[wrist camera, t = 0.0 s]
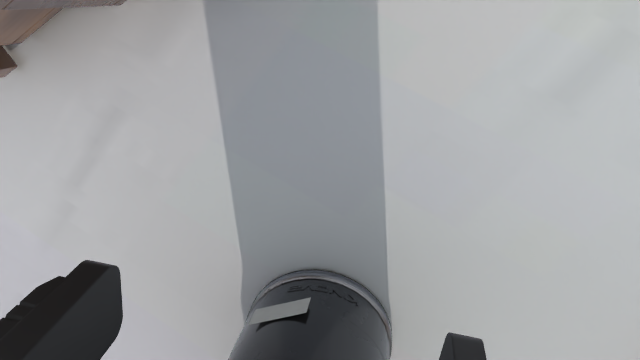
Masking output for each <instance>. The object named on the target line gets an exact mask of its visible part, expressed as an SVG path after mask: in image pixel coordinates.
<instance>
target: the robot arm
mask: <svg viewBox="0 0 640 360" xmlns="http://www.w3.org/2000/svg"><path fill="white" fill-rule="evenodd" d="M122 318H123V310H122V295H121V279H120V270H119V268H118V267H117V266H115V265H110V264H105V263H100V262H95V261H90V260H85V261H83V262H81V263H80V264H79V265H78V266H77V267H76V268H75V269H74V270H73V271H72V272H71V273H70V274H69V275H67V276H66V277H61V276H58V277H56V278H54V279H52V280H50V281H48V282H46V283H44V284H42V285H40V286H38V287H36V288H35V289H34V290H33V291H32V292H31V293H30V294H29V295H28V296H26V297H25V298H24V299H23V300H22V301H21V302H20V305H16V306H15V307H14V308H13V309H12V310H11V311H10V312H9V313H7V314H6V317H5V318H2V319H1V320H0V360H100V359H101V358H102V356H103V355H104V354H105V352H106V351H107V350H108V348H109V347H110V346H111V344H112V343H113V342H114V340H115V339H116V337H117V335H118V333H119V330H120V327H121V324H122ZM391 347H392V333H391V326H390V322H389V319H388V317H387V315H386V312H385V311H384V309H383V307H382V306H381V304H380V303H379V301H378V300H377V299H376V298H375V297H374V296H373V295H372V294H371V293H370V292H369V291H368V290H367V289H365V288H364V287H363V286H361V285H360V284H358V283H357V282H355V281H353V280H351V279H349V278H347V277H345V276H342V275H339V274H336V273H332V272H327V271H319V270H305V271H298V272H293V273H289V274H286V275H284V276H281V277H279V278H277V279H276V280H274V281H272V282H271V283H269V284H268V285H267V286H266V287H265V288H264V289H263V290H262V291H261V292H260V293H259V295H258V296H257V297H256V299H255V301H254V303H253V305H252V307H251V309H250V311H249V314H248V317H247V320H246V323H245V325H244V327H243V330H242V332H241V334H240V336H239V338H238V339H237V342H236V344H235V346H234V348H233V350H232V352H231V354H230V356H229V358H228V360H390V356H391ZM439 360H486V355H485V350H484V344H483V341H482V340H481V339H479V338H474V337H469V336H464V335H459V334H454V333H448V334H447V336H446V338H445V342H444V345H443V348H442V352H441V355H440V358H439Z"/></svg>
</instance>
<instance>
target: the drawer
mask: <svg viewBox="0 0 640 360" xmlns="http://www.w3.org/2000/svg"><path fill="white" fill-rule="evenodd" d="M61 9H62V8H38V9H13V10H0V78H1V77H5V76H6V75H7V74H9V73H10V72H11V71H12V70H14V69H15V68H16V67H17V65H16V63H15V62H14V61H13V60H12V58H11V57H10V56H9V54H8V53H7V52H6V50H5V49H4V48H3V46H2V45H10V44H17V43H22V42H23V41H24V40H25V39H26V38H28V37H29V36H30V35H31V34H32V33H34V32H35V31H36V30H37V29H38V28H40V27H41V26H42V25H43V24H44V23H46V22H47V21H48V20H49V19H50V18H52V17H53V16H54V15H55V14H56V13H58V12H59V11H60V10H61Z"/></svg>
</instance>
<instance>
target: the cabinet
mask: <svg viewBox="0 0 640 360" xmlns="http://www.w3.org/2000/svg"><path fill="white" fill-rule="evenodd" d="M125 1H126V0H0V10H13V9H38V8H64V7H89V6H112V5H121V4H123V3H124V2H125Z"/></svg>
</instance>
